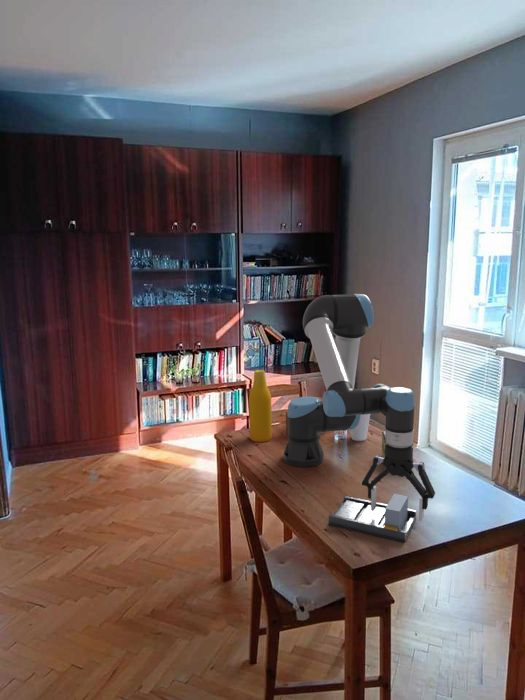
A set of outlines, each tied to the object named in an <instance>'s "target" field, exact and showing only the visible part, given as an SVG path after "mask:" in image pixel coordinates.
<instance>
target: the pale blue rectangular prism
mask: <svg viewBox="0 0 525 700" xmlns="http://www.w3.org/2000/svg"><path fill="white" fill-rule="evenodd" d="M408 503H409V496H408V495H403V494H398V493H394V494H393V495H392V497H391V499H390V500H389V502H388V505H387V506H386V508H385V525H389V526H393V527H398V529H399V530H402V528H403V526H404V524H405V522H406V520H407V511H408V509H409V507H408V506H409V505H408Z"/></svg>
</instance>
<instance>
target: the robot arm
mask: <svg viewBox="0 0 525 700" xmlns="http://www.w3.org/2000/svg"><path fill="white" fill-rule="evenodd" d="M303 313H304V314H303V317H302V328H303V331H304V334H305V336H306V337H307V338H308V339H309V340H310V342H311V346H312V349H313V352H314V355H315V359H316V361H317V362H316V363H317V364H318V365H317V366H318V368H319V370H320V374H321V377H322V380H323V383H324V386H325V390H326V391H324V392H323V395H322V397H321V398H322V401H319V399H318V398H317V397H318V396H317V397H316V396H309V395H308V396H299V397H298V398H294V399H292V400H291V401H289V403H288V405H287V411H288V413H287V416H288V434H287V442H286V445H285V448H284V451H283V461H284V462H285V463H286V464H288V465H291V466H293V467H301V468H302V467H303V468H304V467H305V468H306V467H307V468H309V467H314V466H317V465H320V464H322V463H323V462H324V459H325V456H324V455H325V454H324V450H323V447H322V444H321V442H320V437H319V432H326V433H327V432H335V431H336V432H337V431H345V432H346V431H350V429H354V428H356V427H357V425H358V424H359V421H360V417H361V415H365V414H371V415H372V414H373V415H375V414H376V415H377V414H382V415H383V416H385V430H384V431H385V441H386V444H385V458H382V456H381V455H379V454H376V455H375V456H374V457H373V460H372V465H371V466H370V467H369V470H368V471H367V473H366V474H365V476H364V478H363V480H362V482H361V485H362V486H365V487H367V498H368V499H370V501H371V511H374V510H375V508H376V502H377V490H378V489H377V486H376V485H377V484H378V483H380V481H381V480H382V479H383V478H384V477H386V476H387V475H388V474H389V473H390V475H391V476H398V477H400V478H403V477H405V478H406V479H407V480H408V481H409V482H410V483H411V485H412V486H413V488H414V489H415V490H416V492H417V493H418V494H419V495H420V498H419V502H418V503H419V504H418V521H419V522H422V520H423V518H424V511H425V510H427V508H428V506H429V499H431V500H432V499H434V497H435V495H436V491H435V489H434V487H433V485H432V483H431V480H430V478H429V476H428V474H427V472H426V469H425V463H424V462H423V461H420V462H414V459H413V460H412V457H413V458H414V454H413V453H414V425H415V424H414V423H415V407H416V401H415V393H414V391H413V390H412V389H411V388H406V387H402V386H396V387H391V386H389V385H386V384H384V383H376V384H374V385H372V386H371V387H370V388H369V387H367V388H355V382H356V375H357V367H358V359H359V352H360V344H361V339H362V338H364V336H366V332H367V329H370V328H372V327H373V325H374V323H375V322H374V321H375V312H374V308H373V304H372V301H371V300H370V298H369V296H367V295H366V294H362V293H352V294H349V293H348V294H328V295H327V294H324V295H320V296H318V297H316V298H314V299H313V300H312V301H311V302H310V303H309V304H308V305H307V307H306V309H305V311H304V312H303ZM412 444H413V445H412ZM382 463H383V465H384V467H385V468H384V469H383V470H382V471H381V472H380V473H378V475H377V476H375V478H374V479H372V480H371V481H370V479H371V478H372V475H373V473H375V470H376V469H377V467H378V466H380V465H381V464H382ZM413 468H414V469H415V470H416V471H417V472H418V476H419V478H420V480H421V482H422V483H421V482H420V480H419V479H418V478H417V476H416V475H415V473H414V471H413Z"/></svg>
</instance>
